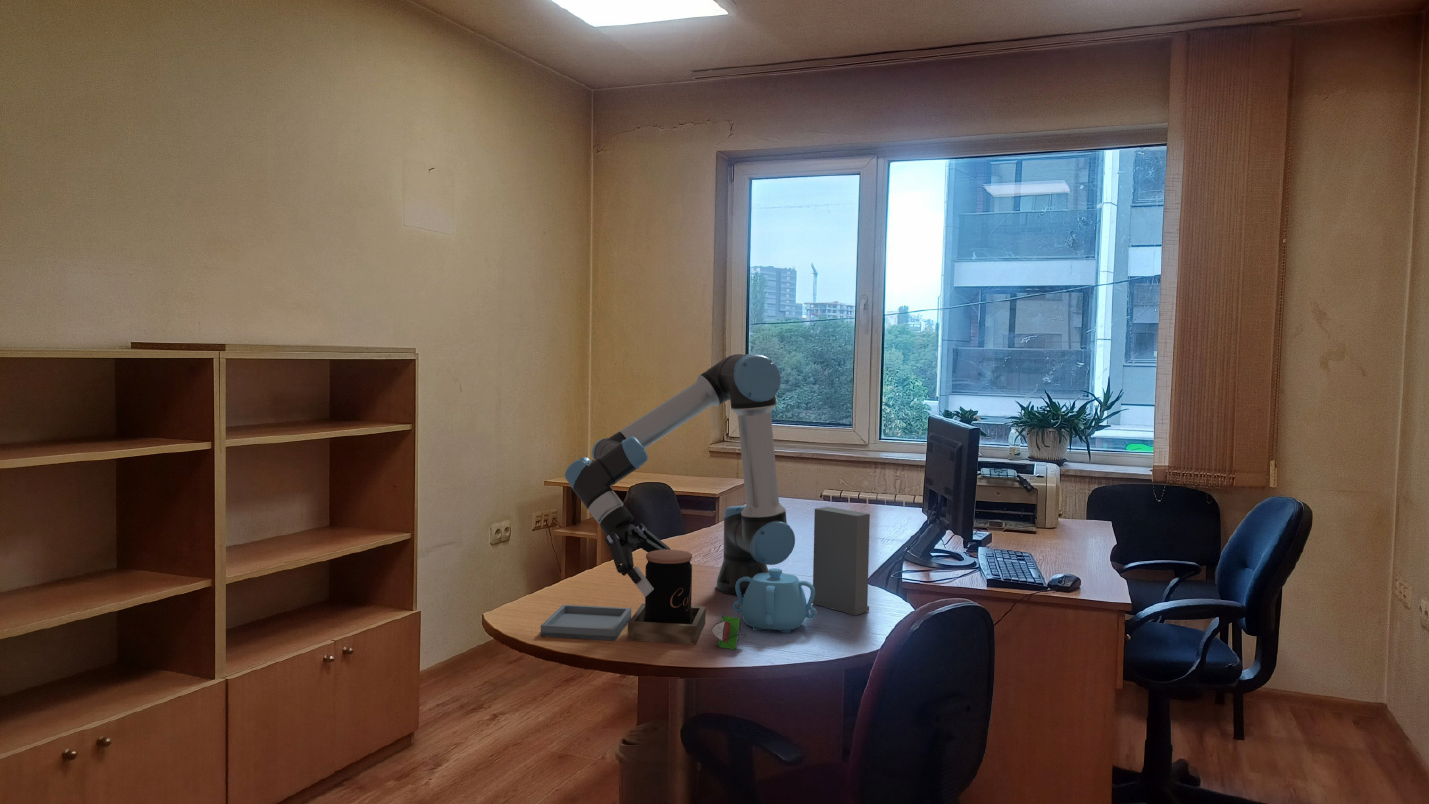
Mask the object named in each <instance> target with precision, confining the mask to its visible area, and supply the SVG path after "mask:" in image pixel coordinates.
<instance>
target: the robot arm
mask: <svg viewBox="0 0 1429 804" xmlns="http://www.w3.org/2000/svg"><path fill="white" fill-rule="evenodd" d="M781 377H782V376H781V372H780V370H779V367H778V366H777V364H776V363H775V362H774V361H773V360H772V359H770V358H769V357H767V356H765V355H762V354H757V353H748V354H747V353H745V354H742V353H735V354H732V355H729V356H727V357H725V358H722V359H721V360H719V362H717V363H715V364H714V365H713V366H711V367H710V368H708V369H707V370H705V371H704V372H702V373H701V374H699V375H697V379H696V381H695V382H694V383H692V384H691V385H689V386H687V387H686V388H685V389H682V390H681V391H680V392H677V394H675V395H674V396H672V397H671V398H668V400H665V401H664V402H663V403H661V404H660V405H657V406H656V407H654V408H653V409H652V410H650V411H649V412H647V413H645V414H644V415H643V416H641V417H639V418H637V419H636V420H634V421H633V422H631V423H630V424H629V425H626V426H625V427H624V428H622V429H620V430H619V431H618V432H616V433H614V434H613V435H611V436H610V437H607V438H601V439H599V440H598V441H596V443H595V444H594V445H593V447H592V452H591V453H592V459H593V461H592V459H590V458H589V457H586V456H585V457H581V458H579V459H577V460H576V459H575V461H573V462H572V463H571V464H569V465H568V467H567V468H566V470H565V471H564V472H565V473H564V478H565V480H566V481H567V483H568V484H569V486H570V488H571V489H572V491H573V492H574V493H575V494H576V496H577V497H578V499H580V501H581V502H582V503H583V505H584V506H585V507H586V509H587V510H588V512H589V513H590V514H591V515H592V517H593V518H594V520H595V521H596V523H597V524H599V527H600V528H601V530H602V531H603V532H604V534H605V535H606V537H605V538H604V541H605V542H606V544H607V546H608V548H609V551H610V554H611V557H612V559H613V563H614V566H615V569H616V571H617V573H618V574H621V575H622V576H623V577H625V576H627V575H628V577H629V579H631V581H632V582H633V583H634V585H636V587H637V588H638V590H639V591H640V592H641V594H642V596H644V598H645V597H646V596H647V595H649V594H650V593H651V592H652V591H653V590H654V588H653V587H652V586H651V584H650V583H649V582H648V580H647V579H646V577H645V575H644V573H643V572H642V571H641V570H640V568H639V566H638V565H636V566H634V565H635V564H634V558H633V551H632V548H637V549H641V550H643V551H644V552H646V553H648V552H651V551H655V550H672V549H671V547H670V546H668V545H667V544H665V542H663V541H662V540H661V539H660V538H658V537H657V536H656V535H654V534H653V533H652V532H651V531H650V530H648V528H647V527H646V526H645V525H644V524H643V523H640V524H638V525H637V526H635V524H633V520H634V516H633V515H632V513H631V512H630V511H629V509H628V508H627V507H626V506H625V505H624V502H623V501H622V500H621V499H620V497H619V496H618V494H617V493H616V492H615V491H614V489H613V488H612V486H614V485H616V484H617V483H618V482H620V481H621V480H624V478H626V477H627V476H629V475H631V474H632V473H634V472H635V471H636V470H639V469H640V467H641V466H643V465H644V464H645V463H647V461H648V459H649V455H648V454H647V451H646V448H648V447H650V446H652V445H653V444H654V443H656V442H658V441H659V440H661V439H662V438H664V437H665V436H667V435H668V434H670V433H671V432H673V431H675V430H676V429H678V428H679V427H681V426H682V425H684V424H685V423H687V422H689V421H690V420H691V419H693V418H695V417H696V416H698V415H699V414H701V413H703V412H704V411H705V410H707V409H709V408H710V407H712V406H713V407H719V406H720V405H721V404H724V403H725V402H727V401H730V410H731V411H733V412H734V413H735V414H736V415H737V421H738V422H737V423H738V433H739V434H738V435H739V443H740V444H739V445H740V455H741V466H742V474H743V485H744V486H743V487H744V496H745V497H744V498H745V505H731V506H728V507H726V508H725V510H724V515H723V561H722V564H721V567H720V569H719V572H718V573H719V574H718V575H717V579H716V589H717V591H719V592H722V593H725V594H729V595H734V596H735V595H736V596H737V594H736V590H735V585H736V582H737V581H738V580H739V579H740V578H742V577H750V578H753V577H754V576H755V575H756V574H758V573H769V571H768V570H769V569H768V566H775V565H779V564H781V563H783V562H785V560H787V559H788V557H789V556H790V555H791V554H792V553H793V550H794V549H795V544H796V536H795V533H794V530H793V529H792V527H791V525H789V524H788V520H787V510H786V507H785V506H783V505H782V504H781V503H780V501H779V499H780V498H779V497H780V496H779V487H778V477H777V466H776V465H777V464H776V456H775V455H776V454H775V444H774V434H773V433H774V432H773V421H772V420H773V419H772V411H773V409H774V408H775V407H776V406H777V399H776V394H777V393H778V391H779V389H780V387H781V381H782V378H781ZM749 584H750V582H748V581H743V582H741V583H740V591H741V594H742V596H744V595H745V592H746V590H747V588H748V586H749Z"/></svg>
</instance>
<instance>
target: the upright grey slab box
mask: <svg viewBox="0 0 1429 804" xmlns="http://www.w3.org/2000/svg"><path fill="white" fill-rule="evenodd" d="M870 517H871V514H870V513H867V512H862V511H855V510H849V509H845V508H844V509H842V508H838V507H837V508H836V507H831V506H823V507H816V508H814V524H813V531H814V532H813V559H812V560H813V563H812V564H813V566H812V585H813V586H814V588H815V596H814V599H813V602H812V604H811V605H813V606H819V607H824V608H827V609H830V610H831V609H832V610H835V611H839V612H842V613H845V614H850V615H851V616H857V615H860V614H863V613H867V612H869V611H870V605H868V597H869V595H868V593H869V591H868V590H869V558H870V557H869V556H870V552H869V550H870V525H871V523H870V522H871V521H870V519H871V518H870Z"/></svg>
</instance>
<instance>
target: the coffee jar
mask: <svg viewBox="0 0 1429 804" xmlns="http://www.w3.org/2000/svg"><path fill="white" fill-rule="evenodd" d="M645 559H646V560H647V563H646V564H645V575H644V576H645V577H646V579H647V580H648V582H649V583H650V584H651V586H652V587H653V588H654V590H653V591H652V592H651V593H650V594H649V595H647V596H646V597H644V604H645V622H656V623H674V624H691V606H692V599H693V598H692V597H693V595H692V591H693V588H692V587H693V564H692V563H691V561H692V559H693V554H692V553H691V552H688V551H685V550H680V549H671V550H655V551H651V552H646V554H645Z"/></svg>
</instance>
